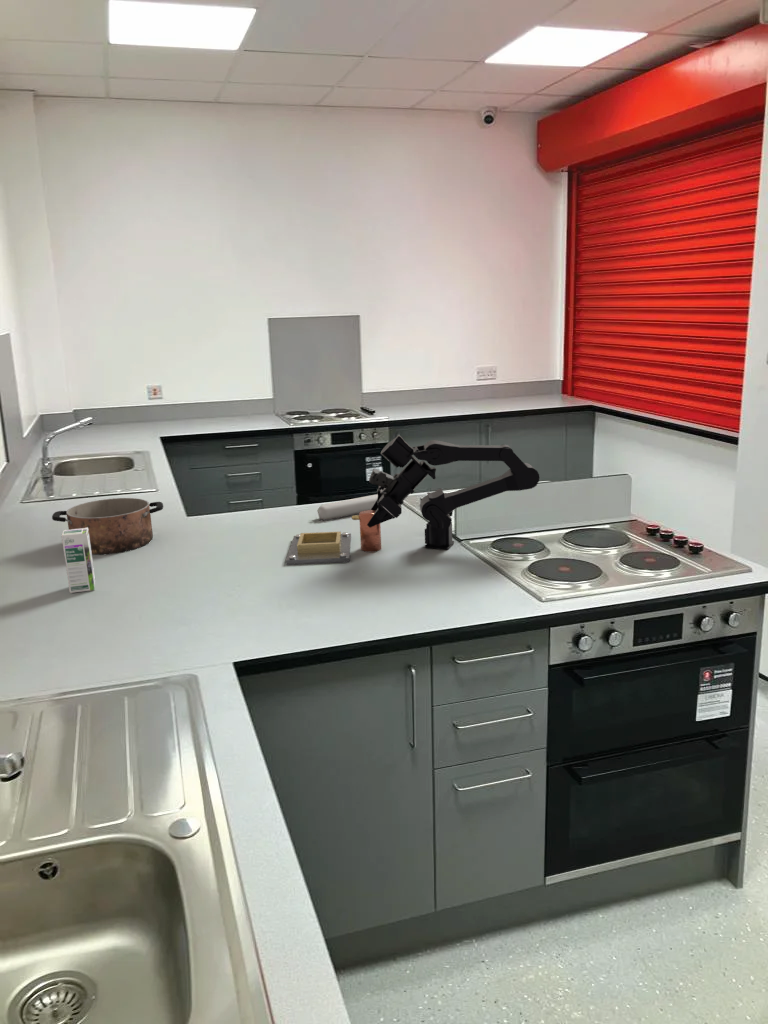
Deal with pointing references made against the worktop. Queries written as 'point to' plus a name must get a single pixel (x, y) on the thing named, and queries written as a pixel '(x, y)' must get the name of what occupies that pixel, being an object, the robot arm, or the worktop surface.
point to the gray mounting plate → (319, 548)
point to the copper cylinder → (368, 532)
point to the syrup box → (78, 560)
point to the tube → (346, 507)
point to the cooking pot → (113, 523)
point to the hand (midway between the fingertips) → (368, 521)
